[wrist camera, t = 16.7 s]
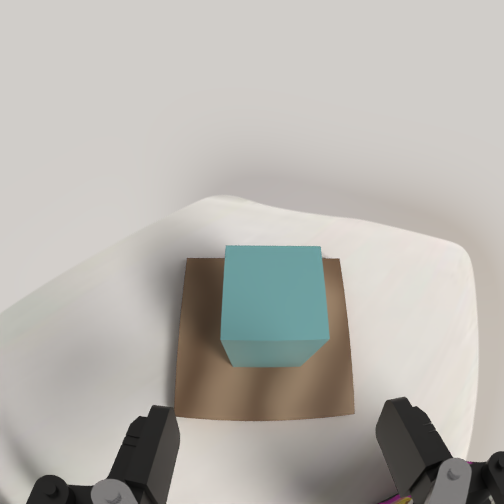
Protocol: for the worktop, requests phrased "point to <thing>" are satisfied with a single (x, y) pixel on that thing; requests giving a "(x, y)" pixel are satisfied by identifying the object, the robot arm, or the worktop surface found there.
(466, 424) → the worktop surface
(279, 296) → the teal rectangular block
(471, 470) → the robot arm
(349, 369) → the plate
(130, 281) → the worktop surface
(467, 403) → the worktop surface
